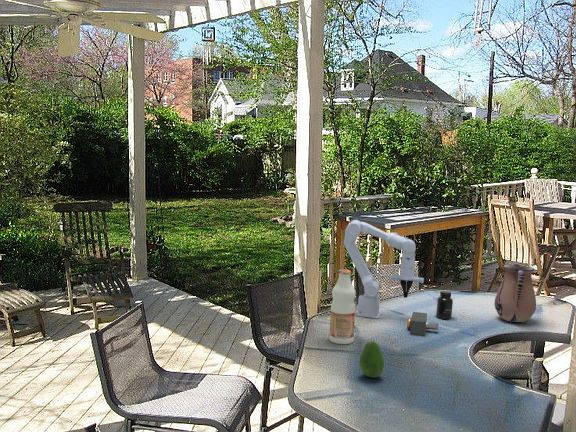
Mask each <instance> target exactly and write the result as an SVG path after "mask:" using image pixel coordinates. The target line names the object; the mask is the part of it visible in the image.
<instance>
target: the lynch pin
mask: <svg viewBox="0 0 576 432" xmlns="http://www.w3.org/2000/svg"><path fill="white" fill-rule="evenodd" d="M410 324H411V318H407V325H406V326H407V329H410ZM426 330H433V331H434V330H435V331H439V322H432V321H431V322H429V321H427V322H426Z"/></svg>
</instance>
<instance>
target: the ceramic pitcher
mask: <svg viewBox="0 0 576 432" xmlns="http://www.w3.org/2000/svg"><path fill="white" fill-rule="evenodd" d="M503 268H504V269H505V273H504V275H503V276H504V277H503V278H502V281H501V284H500V286H499V288H498V290H497V292H496V295H495V298H494V308H495V311H496V313H497V315H498V316H499V317H500V318H501V319H502V320H504V321H506V322H508V321H511V322H510V323H513V322H522V323H525V322H527V321H529V319H531V318H532V317H533V315H534V314H535V312H536V311H537V309H536V308H537V300H536V293H535V288H534V284H533V279H532V274H533V272H534V271H535V269H536V268H534V267H532V266H529V265H528V266H527V265H524V266H522V265H520V264H517V263H516V264H515V263H514V264H504V265H503Z"/></svg>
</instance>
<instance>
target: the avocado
mask: <svg viewBox="0 0 576 432" xmlns="http://www.w3.org/2000/svg"><path fill="white" fill-rule="evenodd" d="M384 367H385V360H384V357H383V353H382V351H381V348H380V346H379V344H378V343H377V342H375V341H372V340H371V341H368V342H366V343H365V345H364V348H363V349H362V351H361V354H360V356H359V368H360V370H361V373H362V374H363V375H364V376H366V377H367V378H374V379H375V378H378V377H379V376H381V375H382V373H383V371H384Z"/></svg>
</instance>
